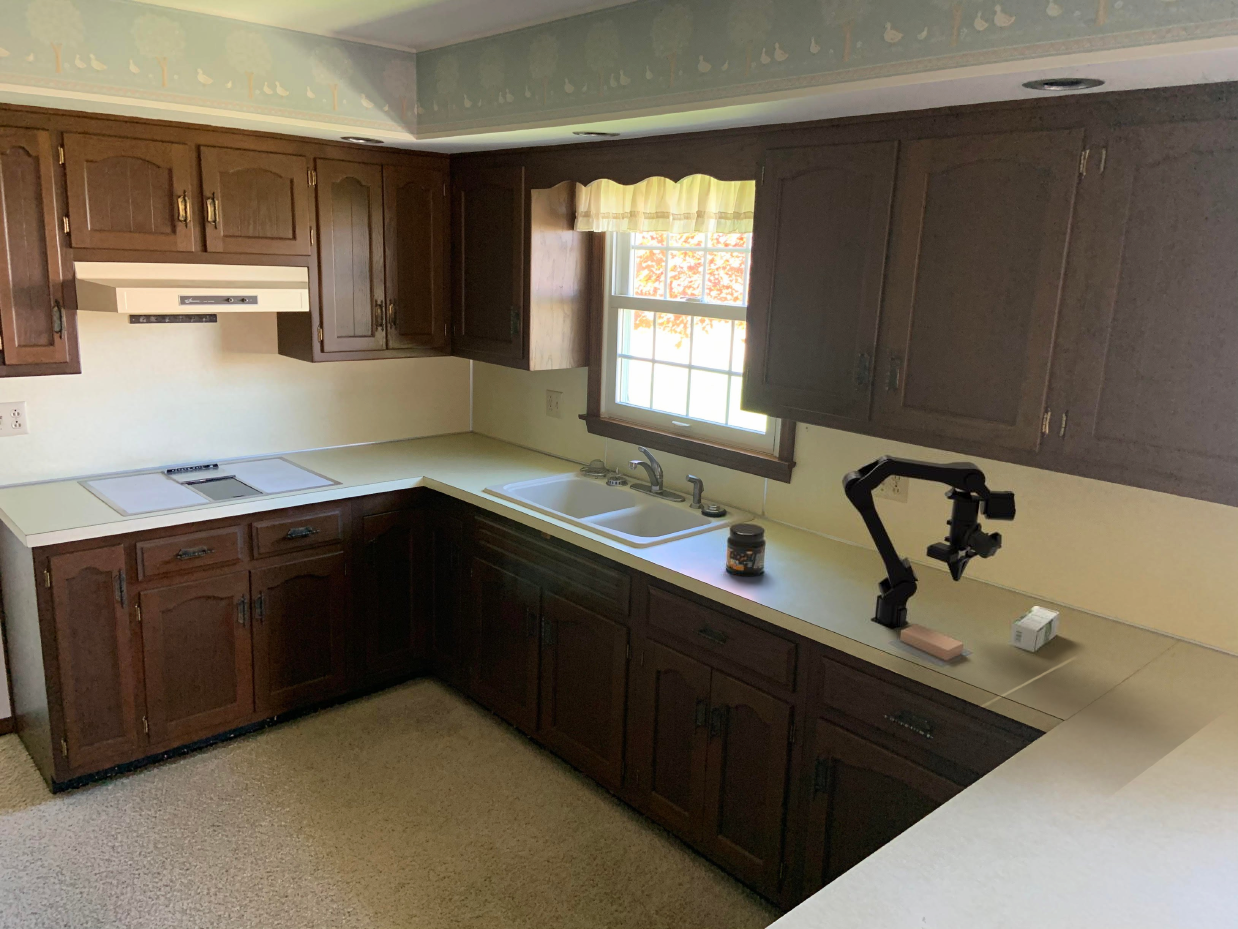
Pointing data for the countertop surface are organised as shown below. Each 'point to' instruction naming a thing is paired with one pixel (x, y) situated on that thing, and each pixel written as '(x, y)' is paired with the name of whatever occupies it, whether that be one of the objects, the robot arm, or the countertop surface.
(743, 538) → the supplement container
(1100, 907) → the countertop surface
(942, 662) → the mat
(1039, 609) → the syrup box
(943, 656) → the tile
